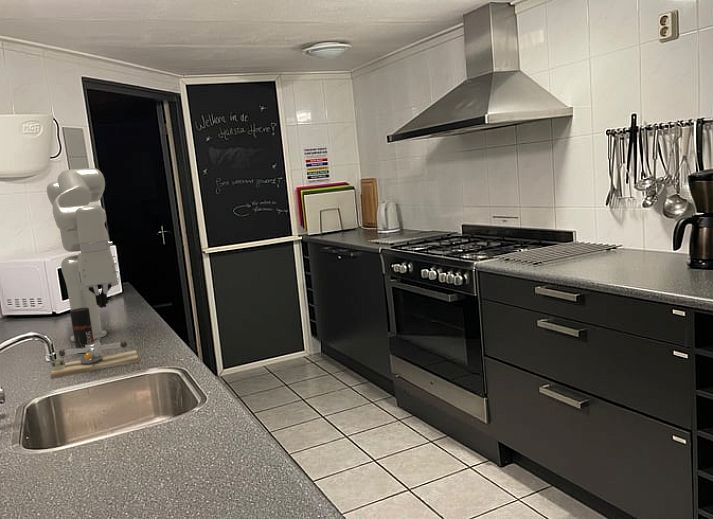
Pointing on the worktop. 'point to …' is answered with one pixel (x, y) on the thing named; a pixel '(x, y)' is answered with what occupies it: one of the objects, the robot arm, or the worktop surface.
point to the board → (91, 364)
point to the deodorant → (81, 327)
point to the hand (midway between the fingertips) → (102, 306)
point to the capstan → (92, 350)
